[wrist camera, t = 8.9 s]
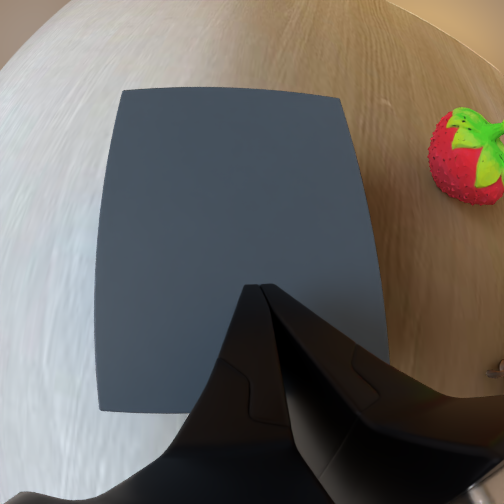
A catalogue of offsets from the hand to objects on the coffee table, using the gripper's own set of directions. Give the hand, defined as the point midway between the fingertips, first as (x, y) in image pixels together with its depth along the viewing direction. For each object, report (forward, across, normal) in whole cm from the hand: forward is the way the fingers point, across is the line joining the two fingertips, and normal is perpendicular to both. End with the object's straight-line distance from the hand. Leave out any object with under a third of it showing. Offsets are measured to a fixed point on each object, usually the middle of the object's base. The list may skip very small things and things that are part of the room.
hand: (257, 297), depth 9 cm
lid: (+4, 0, 0) cm, 4 cm away
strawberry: (+13, -17, 0) cm, 21 cm away
